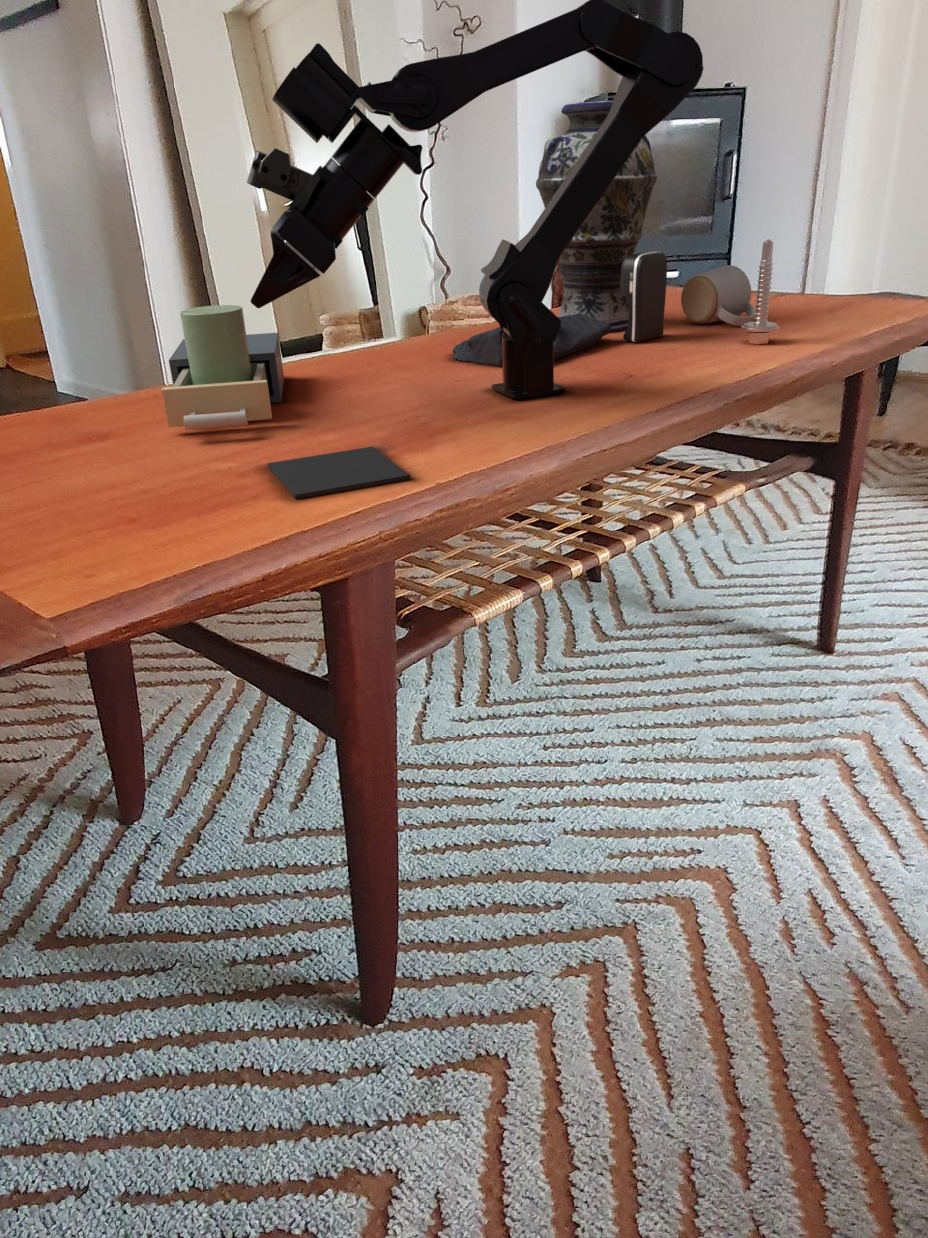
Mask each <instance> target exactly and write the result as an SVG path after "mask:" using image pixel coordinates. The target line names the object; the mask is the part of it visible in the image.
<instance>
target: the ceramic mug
mask: <svg viewBox="0 0 928 1238" xmlns="http://www.w3.org/2000/svg"><path fill="white" fill-rule="evenodd" d="M751 299H752V287H751V283H750V279H749V277H748V276H747V274H746V273H745V272H744V270H742V269H741V268H739V267H738V266H737V265H736V266H735V265H724V266H721V267H717V268H714V269H710V270H707V271H703V272H700V273H698V274H696V275H694V276H692V277H691V278H689V280H687V281H686V283H685V284H684V285H683V288H682V290H681V296H680V305H681V308H682V311H683V313H684V315H685V316H686V318H687V319H689V320H690V321H691V322H693V323H696V324H701V325H702V324H705V325H706V324H711V323H716V322H721V321H723V322H724V323H726V324H728V325H732V326H735V327H742V326H743V325H744V324H745V323H748V322H754V320H755V319H754V318H755V314H754V313H756V310H755V307H754V305H752V303H751ZM744 313H745V314H746V315H747V316H743V314H744Z"/></svg>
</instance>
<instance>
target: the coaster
mask: <svg viewBox="0 0 928 1238" xmlns="http://www.w3.org/2000/svg"><path fill="white" fill-rule="evenodd" d="M267 468H268V469H269V471H271V472H270V473H272V475H274V476H275V477H276V479H277V480H278V481H279V482H280V483H281V485H283V486H284V488H285V489H286V490H287V491H288V492H289V493H290V495H291V496H292V498H293V499H294V500H300V499H304V498H311V497H317V496H321V495H328V494H335V493H339V492H344V491H351V490H357V489H362V488H368V487H374V486H380V485H385V484H390V483H396V482H402V481H407V480H411V475H410V474H409V473H408V472H406V470H404V469H402V467H400V466H399V465H398V464H396V463H395V462H394V461H392V460H391V459H390V458H388V457H387V456H385V455H384V454H383V453H381V452H380V451H379V450H378V449H376V448H375V447H374V446H367V447H362V448H355V449H348V450H343V451H336V452H335V451H334V452H330V453H322V454H316V455H311V456H306V457H299V458H292V459H286V460H280V461H279V460H278V461H274V462H267Z"/></svg>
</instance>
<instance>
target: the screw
mask: <svg viewBox="0 0 928 1238" xmlns="http://www.w3.org/2000/svg"><path fill="white" fill-rule="evenodd" d="M773 251H774V241H772V239H771V240H770V239H769V238H768V239H766V240H764V241H763V243H762V248H761V259H760V260H759V263H760V264H759V265H758V268H759V270H758V271H757V272H758V275H757V277H758V280H757V282H758V284H757V285H756V286H757V289H756V292H757V293H756V298H755V301H756V303H755V304H754V305H755V307H754V309H755V313H754V314H755V317H754V319H753V320H754V321H752V322H748V323H745V324H744V325H743V326H740V327H741V330H742V331H744V332H747V335H749V338H748V339H749V340H748V343H749V344H754V345H767V344H768V343H769V342H770V335H772V334H773V332H775V331H778V330H780V325H778V323H776V322H772V321H769V319H768V317H769V314H768V313H769V312H770V310H769V308H770V307H771V306H770V305H769V304H770V303H771V301H770V298H771V296H770V294H771V293H772V292H771V289H772V286H771V285H772V284H773V283H772V280H773V277H772V275H773V274H774V273H773V272H772V271H773V270H774V268H773V265H774V263H773V260H774V258H773V253H774V252H773Z"/></svg>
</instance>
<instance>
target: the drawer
mask: <svg viewBox="0 0 928 1238" xmlns="http://www.w3.org/2000/svg"><path fill="white" fill-rule="evenodd" d="M250 365H251V372H252V379H253V381H243V382H229V383H216V384H202V385H193V384H192V378H191V373H190V367H184V368H183V370H182V371H181V373H180V375H179V376H178V378H177V380H176V381H175V383H174V385H173V384H172V386H165V387H164V386H163V387H162V388H161V394H162V399H163V405H164V409H165V415H166V420H167V426H168V428H174V427H184V429H185V430H186V431H195V430H208V429H219V428H220V429H221V428H231V427H244V426H246V427H247V426H248V425H249V422H250V421H262V420H263V421H264V420H273V419H272V418H273V412H272V405H271V403H270V397H269V388H268V380H267V373H266V365H265V361H260V362H250Z"/></svg>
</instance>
